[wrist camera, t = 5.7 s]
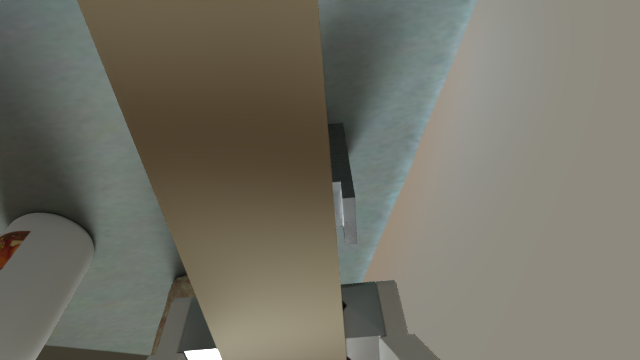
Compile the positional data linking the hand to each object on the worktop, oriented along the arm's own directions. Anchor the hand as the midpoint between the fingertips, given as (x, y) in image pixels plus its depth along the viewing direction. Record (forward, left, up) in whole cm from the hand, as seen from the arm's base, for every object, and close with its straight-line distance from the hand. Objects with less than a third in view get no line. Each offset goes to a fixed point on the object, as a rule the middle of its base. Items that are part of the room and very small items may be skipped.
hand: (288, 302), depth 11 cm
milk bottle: (+17, -25, -23) cm, 38 cm away
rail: (0, 0, -1) cm, 1 cm away
